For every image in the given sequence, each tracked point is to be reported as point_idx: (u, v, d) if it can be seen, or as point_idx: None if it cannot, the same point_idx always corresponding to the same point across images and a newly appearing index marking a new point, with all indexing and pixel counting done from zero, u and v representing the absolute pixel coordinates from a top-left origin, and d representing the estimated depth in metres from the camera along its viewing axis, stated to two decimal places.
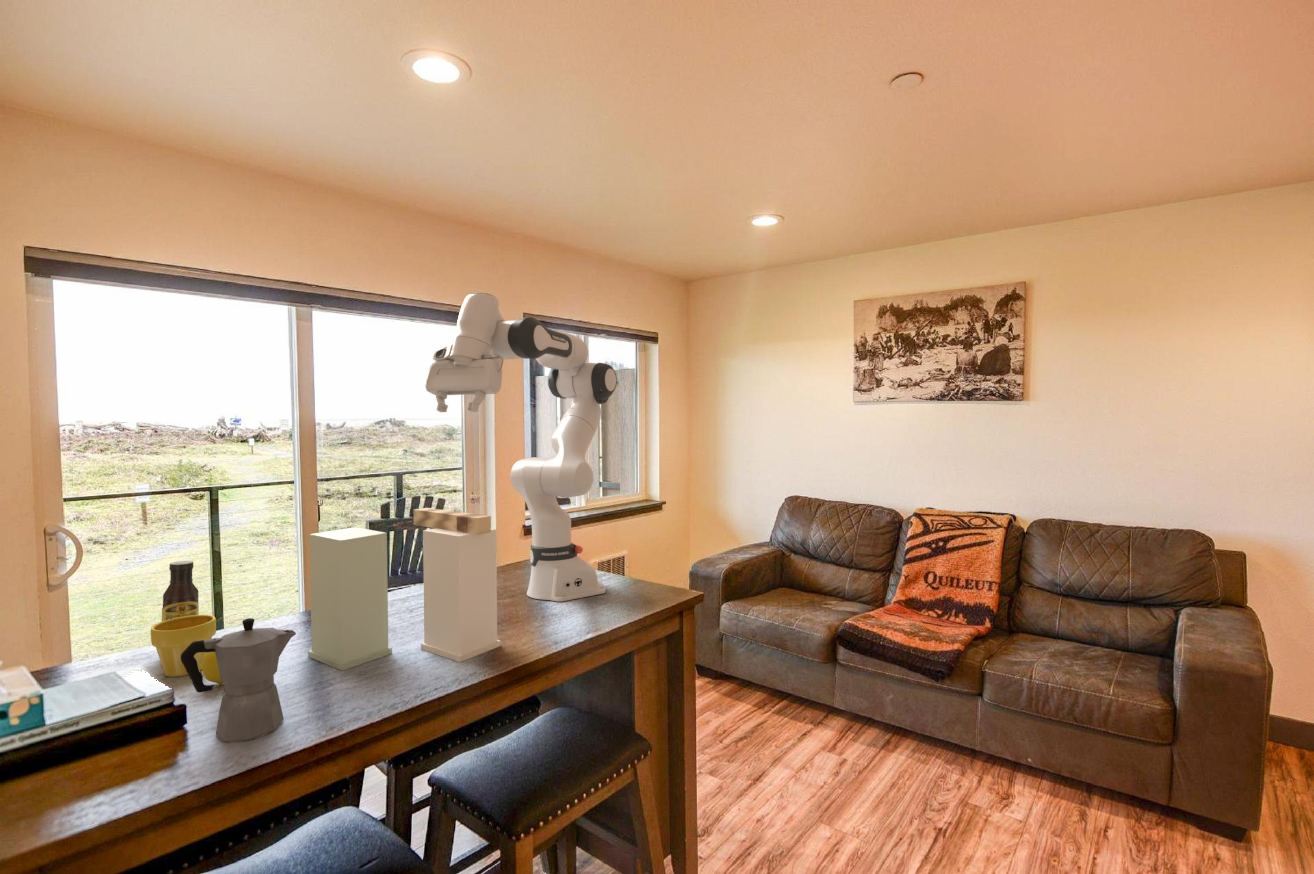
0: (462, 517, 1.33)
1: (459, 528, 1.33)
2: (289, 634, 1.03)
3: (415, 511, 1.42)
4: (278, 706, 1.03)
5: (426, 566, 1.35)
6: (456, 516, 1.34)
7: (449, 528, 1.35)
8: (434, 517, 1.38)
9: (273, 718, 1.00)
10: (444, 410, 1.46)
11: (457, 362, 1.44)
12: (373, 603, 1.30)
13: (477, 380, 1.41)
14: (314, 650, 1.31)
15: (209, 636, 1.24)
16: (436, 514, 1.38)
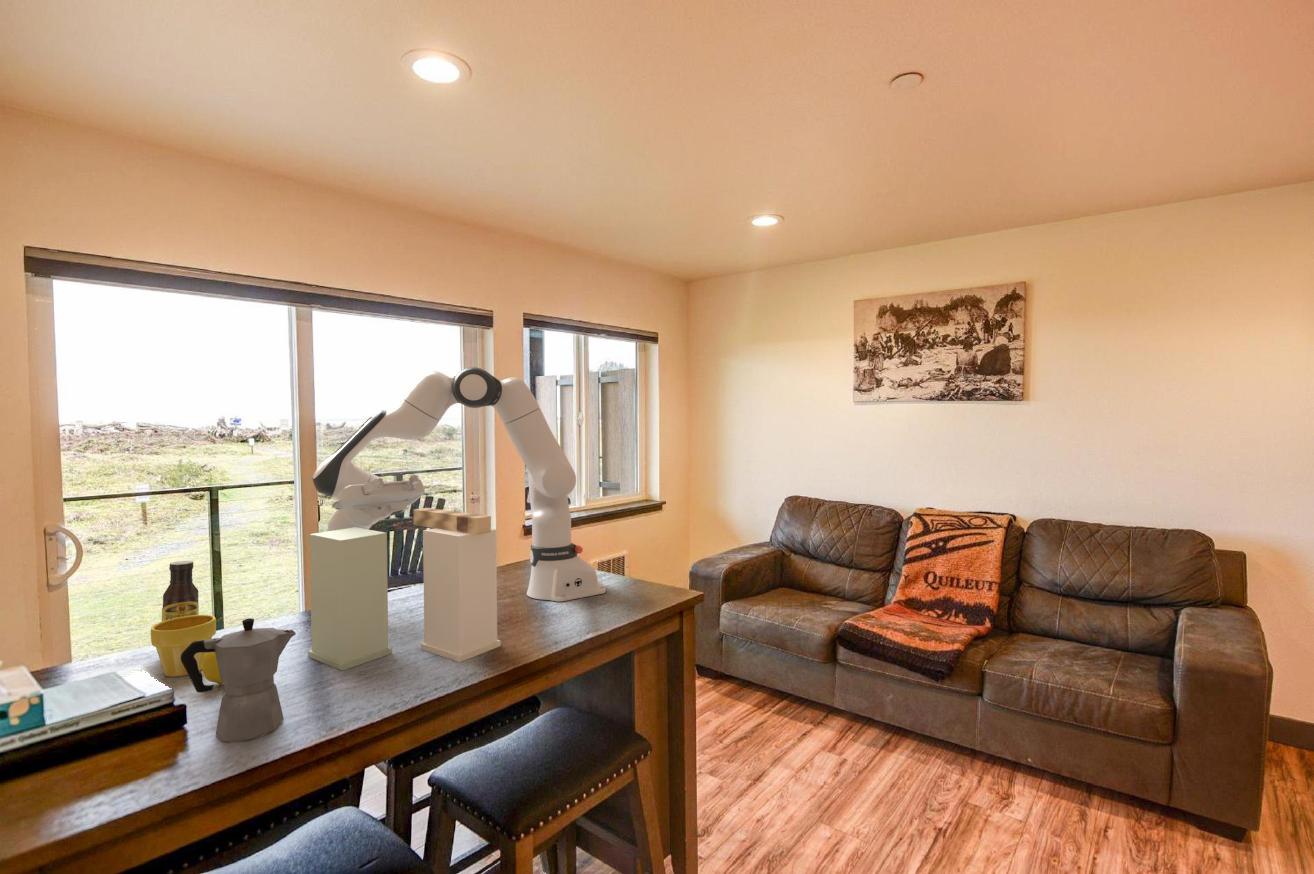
0: (462, 517, 1.33)
1: (459, 528, 1.33)
2: (289, 634, 1.03)
3: (415, 511, 1.42)
4: (278, 706, 1.03)
5: (426, 566, 1.35)
6: (456, 516, 1.34)
7: (449, 528, 1.35)
8: (434, 517, 1.38)
9: (273, 718, 1.00)
10: (412, 478, 1.52)
11: (380, 510, 1.53)
12: (373, 603, 1.30)
13: (363, 501, 1.46)
14: (314, 650, 1.31)
15: (209, 636, 1.24)
16: (436, 514, 1.38)
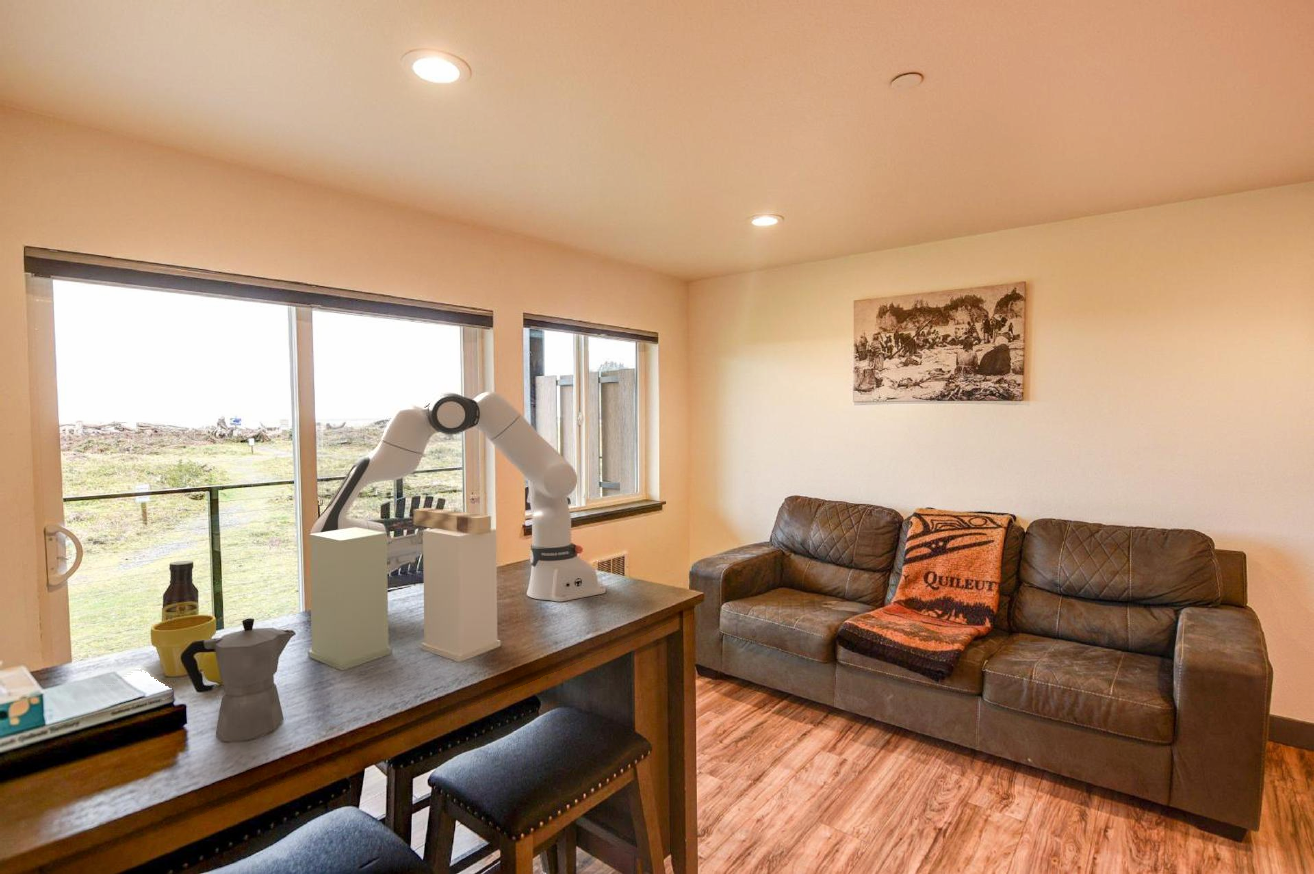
0: (462, 517, 1.33)
1: (459, 528, 1.33)
2: (289, 634, 1.03)
3: (415, 511, 1.42)
4: (278, 706, 1.03)
5: (426, 566, 1.35)
6: (456, 516, 1.34)
7: (449, 528, 1.35)
8: (434, 517, 1.38)
9: (273, 718, 1.00)
10: (421, 532, 1.50)
11: (388, 565, 1.52)
12: (373, 603, 1.30)
13: None
14: (314, 650, 1.31)
15: (209, 636, 1.24)
16: (436, 514, 1.38)
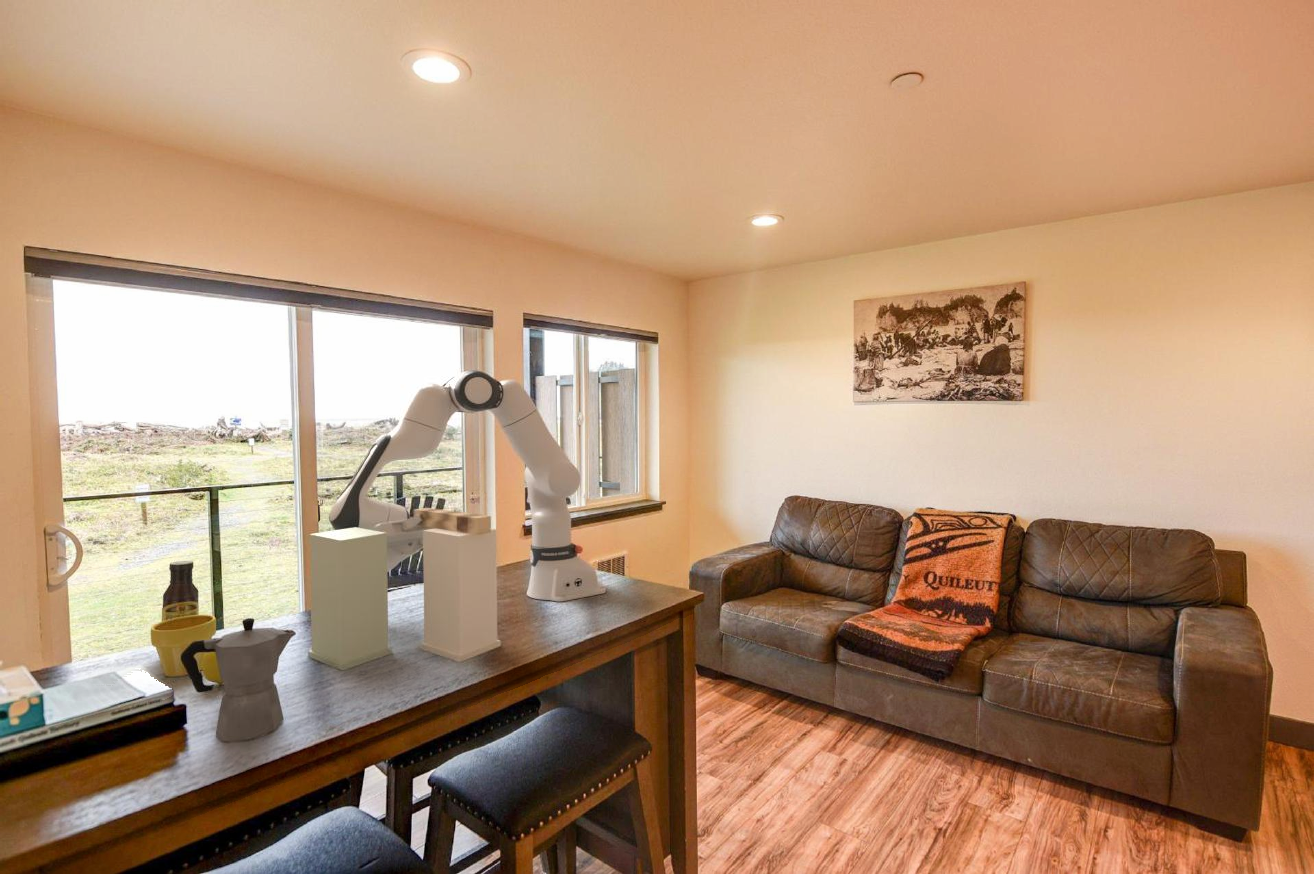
0: (462, 517, 1.33)
1: (459, 528, 1.33)
2: (289, 634, 1.03)
3: (415, 511, 1.42)
4: (278, 706, 1.03)
5: (426, 566, 1.35)
6: (456, 516, 1.34)
7: (449, 528, 1.35)
8: (434, 517, 1.38)
9: (273, 718, 1.00)
10: None
11: (410, 547, 1.46)
12: (373, 603, 1.30)
13: (394, 538, 1.40)
14: (314, 650, 1.31)
15: (209, 636, 1.24)
16: (436, 514, 1.38)
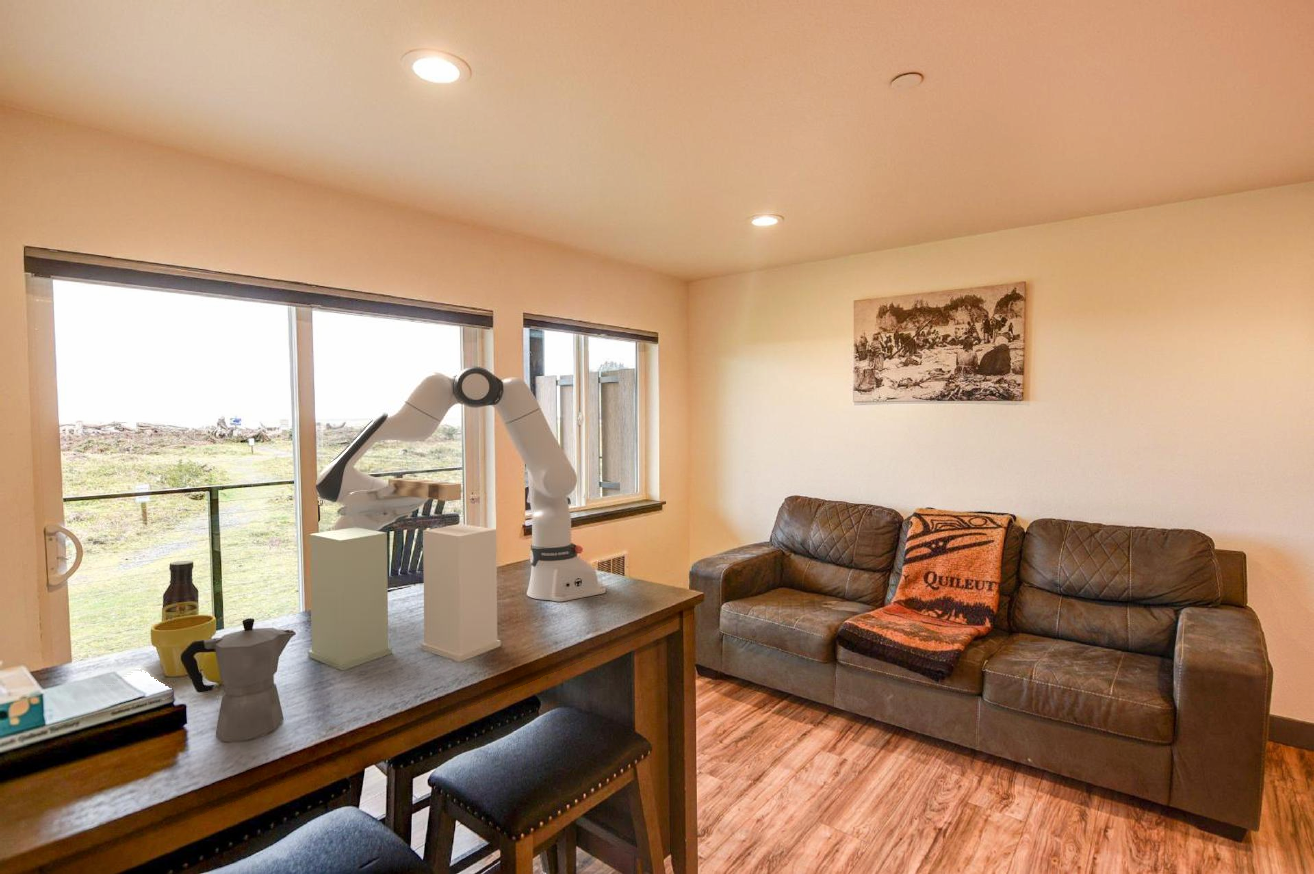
0: (433, 484, 1.38)
1: (430, 495, 1.38)
2: (289, 635, 1.03)
3: (390, 480, 1.47)
4: (278, 706, 1.03)
5: (426, 566, 1.35)
6: (428, 484, 1.39)
7: (421, 496, 1.40)
8: (407, 485, 1.43)
9: (273, 718, 1.00)
10: None
11: (385, 516, 1.51)
12: (373, 603, 1.30)
13: (369, 506, 1.45)
14: (314, 650, 1.31)
15: (209, 636, 1.24)
16: (409, 483, 1.43)
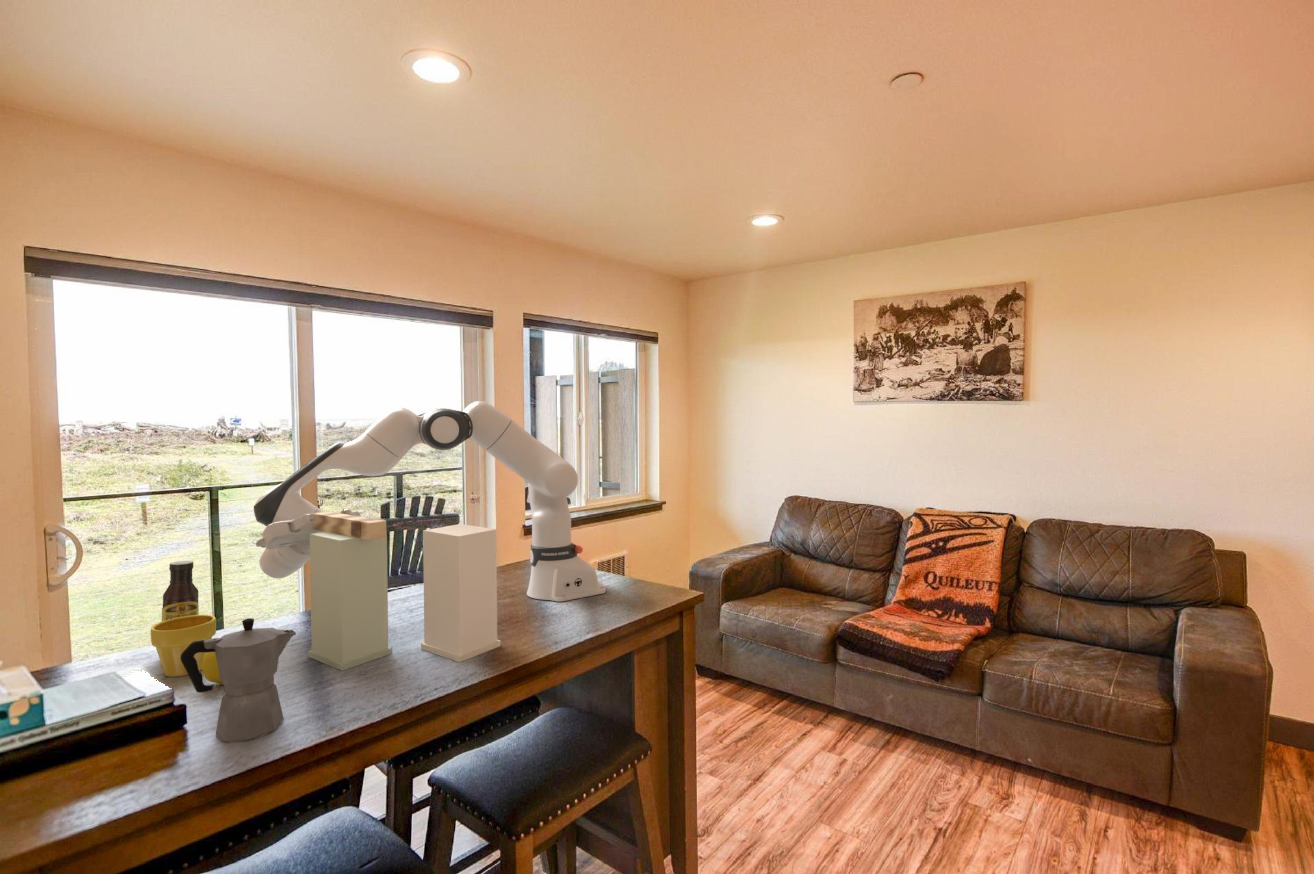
0: (356, 521, 1.27)
1: (353, 533, 1.27)
2: (289, 634, 1.03)
3: (314, 515, 1.36)
4: (278, 706, 1.03)
5: (426, 566, 1.35)
6: (350, 521, 1.28)
7: (344, 533, 1.29)
8: (330, 521, 1.32)
9: (273, 718, 1.00)
10: (344, 512, 1.39)
11: None
12: (373, 603, 1.30)
13: (290, 538, 1.34)
14: (314, 650, 1.31)
15: (209, 636, 1.24)
16: (333, 518, 1.32)
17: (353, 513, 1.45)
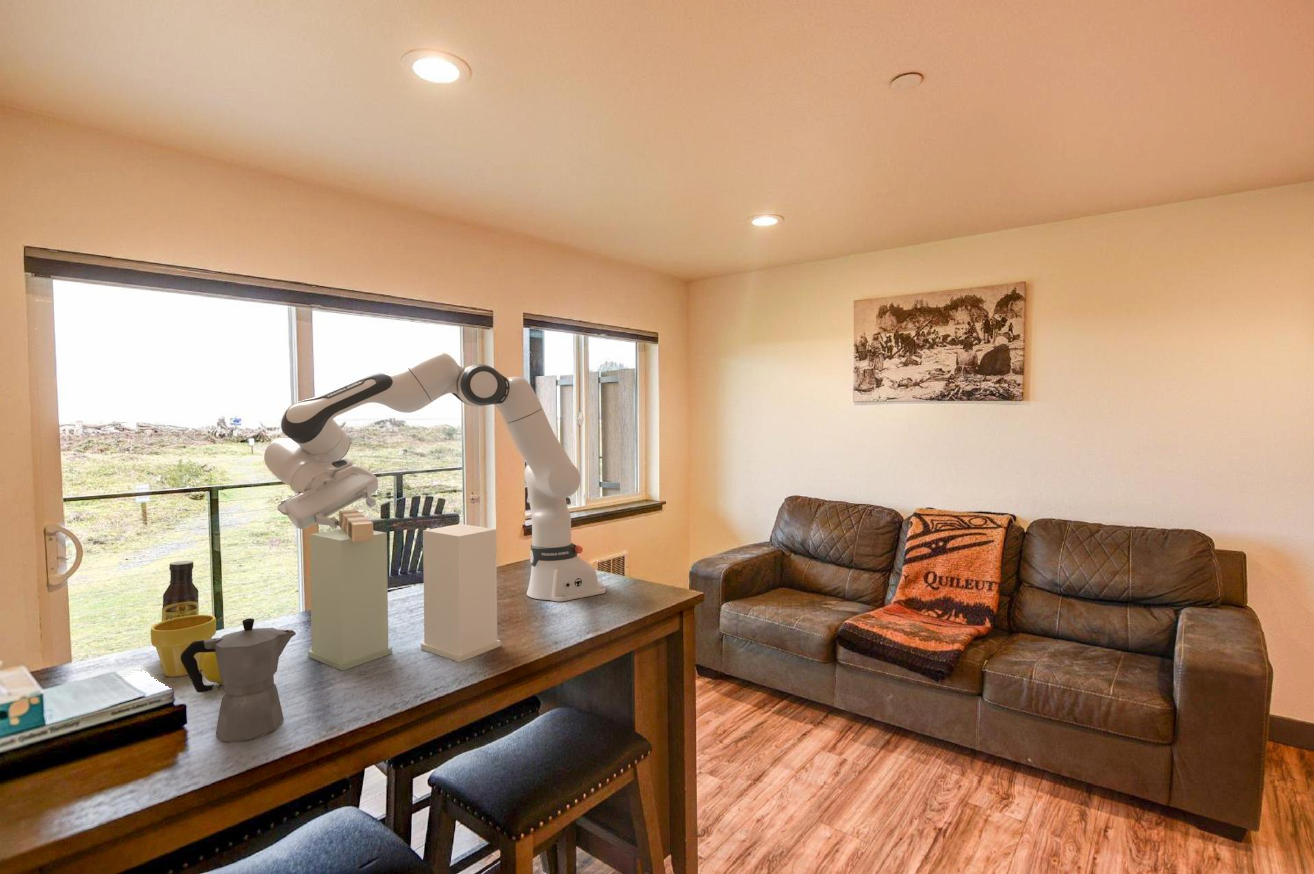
0: (350, 522, 1.26)
1: (348, 534, 1.27)
2: (289, 634, 1.03)
3: (339, 512, 1.40)
4: (278, 706, 1.03)
5: (426, 566, 1.35)
6: (348, 521, 1.28)
7: (347, 533, 1.30)
8: (343, 520, 1.34)
9: (273, 718, 1.00)
10: (369, 504, 1.45)
11: None
12: (373, 603, 1.30)
13: None
14: (314, 650, 1.31)
15: (209, 636, 1.24)
16: (344, 517, 1.33)
17: (372, 483, 1.49)
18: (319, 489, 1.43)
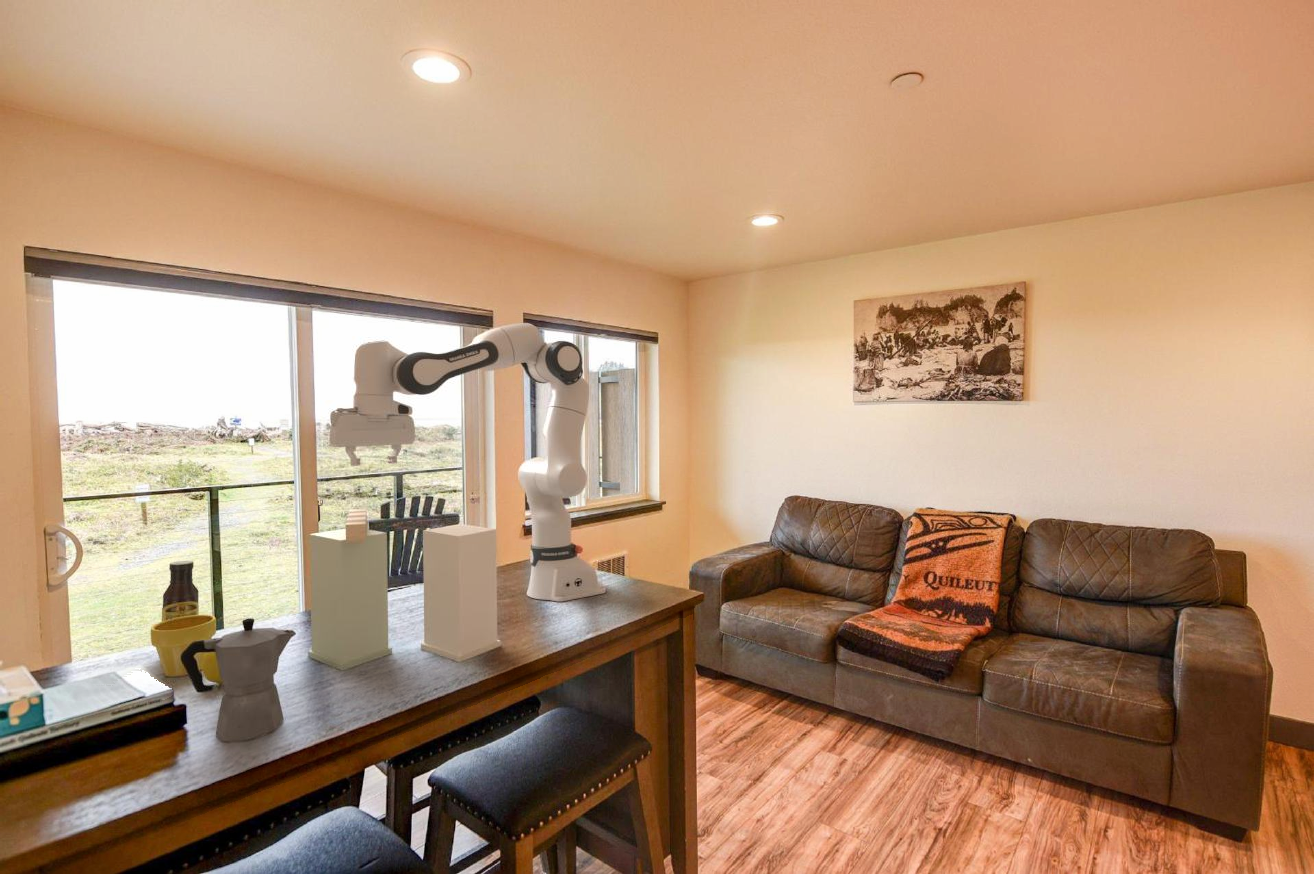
0: (346, 522, 1.26)
1: None
2: (289, 634, 1.03)
3: (349, 511, 1.41)
4: (278, 706, 1.03)
5: (426, 566, 1.35)
6: None
7: None
8: None
9: (273, 718, 1.00)
10: (390, 462, 1.55)
11: None
12: (373, 603, 1.30)
13: None
14: (314, 650, 1.31)
15: (209, 636, 1.24)
16: (348, 516, 1.34)
17: None
18: (371, 421, 1.49)
